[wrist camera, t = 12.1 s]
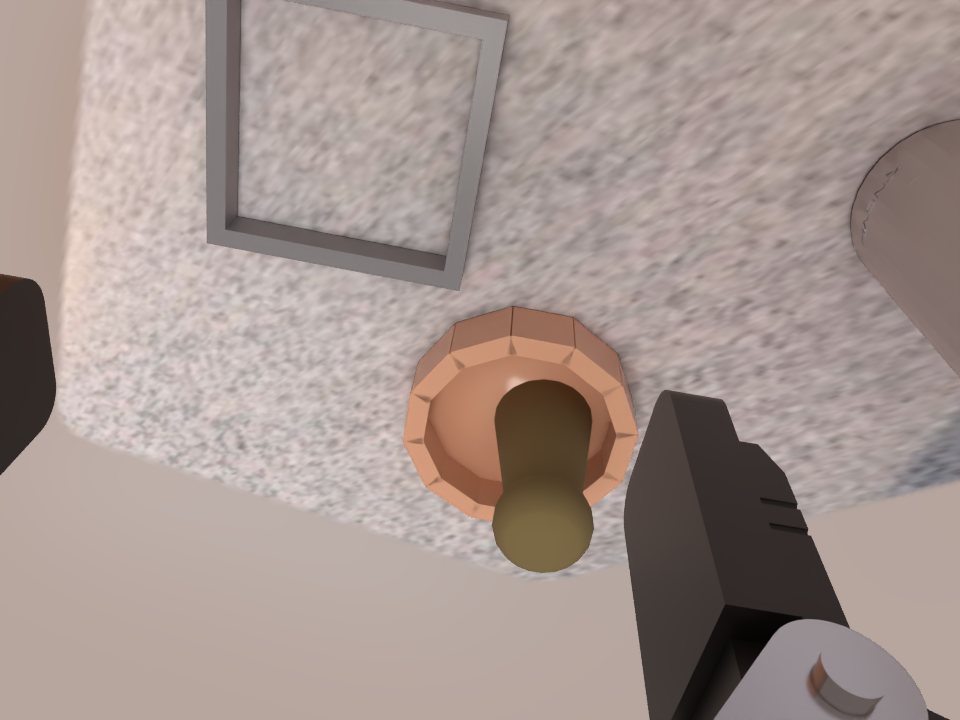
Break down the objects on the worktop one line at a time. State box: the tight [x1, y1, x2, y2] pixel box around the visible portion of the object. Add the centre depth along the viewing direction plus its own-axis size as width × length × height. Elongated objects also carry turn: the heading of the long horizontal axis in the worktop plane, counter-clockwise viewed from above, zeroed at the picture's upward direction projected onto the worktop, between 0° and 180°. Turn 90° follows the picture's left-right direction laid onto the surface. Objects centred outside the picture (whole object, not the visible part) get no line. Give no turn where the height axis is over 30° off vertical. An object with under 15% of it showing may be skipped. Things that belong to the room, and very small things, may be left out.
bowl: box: [403, 306, 638, 521], centre depth 48 cm, size 13×13×4 cm
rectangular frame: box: [206, 0, 509, 291], centre depth 41 cm, size 14×14×2 cm
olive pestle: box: [492, 379, 594, 573], centre depth 44 cm, size 6×6×11 cm
